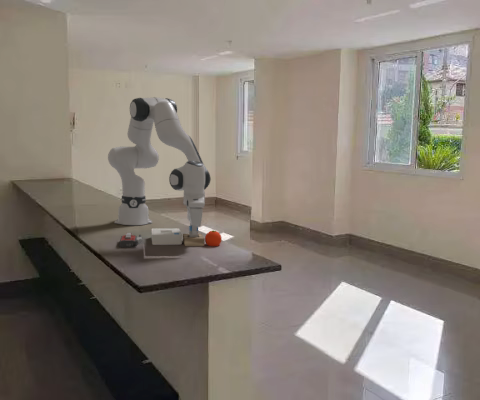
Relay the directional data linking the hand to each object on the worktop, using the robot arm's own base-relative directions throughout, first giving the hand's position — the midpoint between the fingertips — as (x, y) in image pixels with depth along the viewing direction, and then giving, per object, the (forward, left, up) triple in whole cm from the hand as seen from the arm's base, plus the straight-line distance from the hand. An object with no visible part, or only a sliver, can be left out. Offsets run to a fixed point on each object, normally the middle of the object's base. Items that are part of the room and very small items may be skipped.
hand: (193, 233), depth 206 cm
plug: (0, 0, -4) cm, 4 cm away
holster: (0, 0, -5) cm, 5 cm away
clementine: (+3, +8, -5) cm, 10 cm away
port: (-5, -11, -5) cm, 13 cm away
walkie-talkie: (-7, -25, -6) cm, 27 cm away
